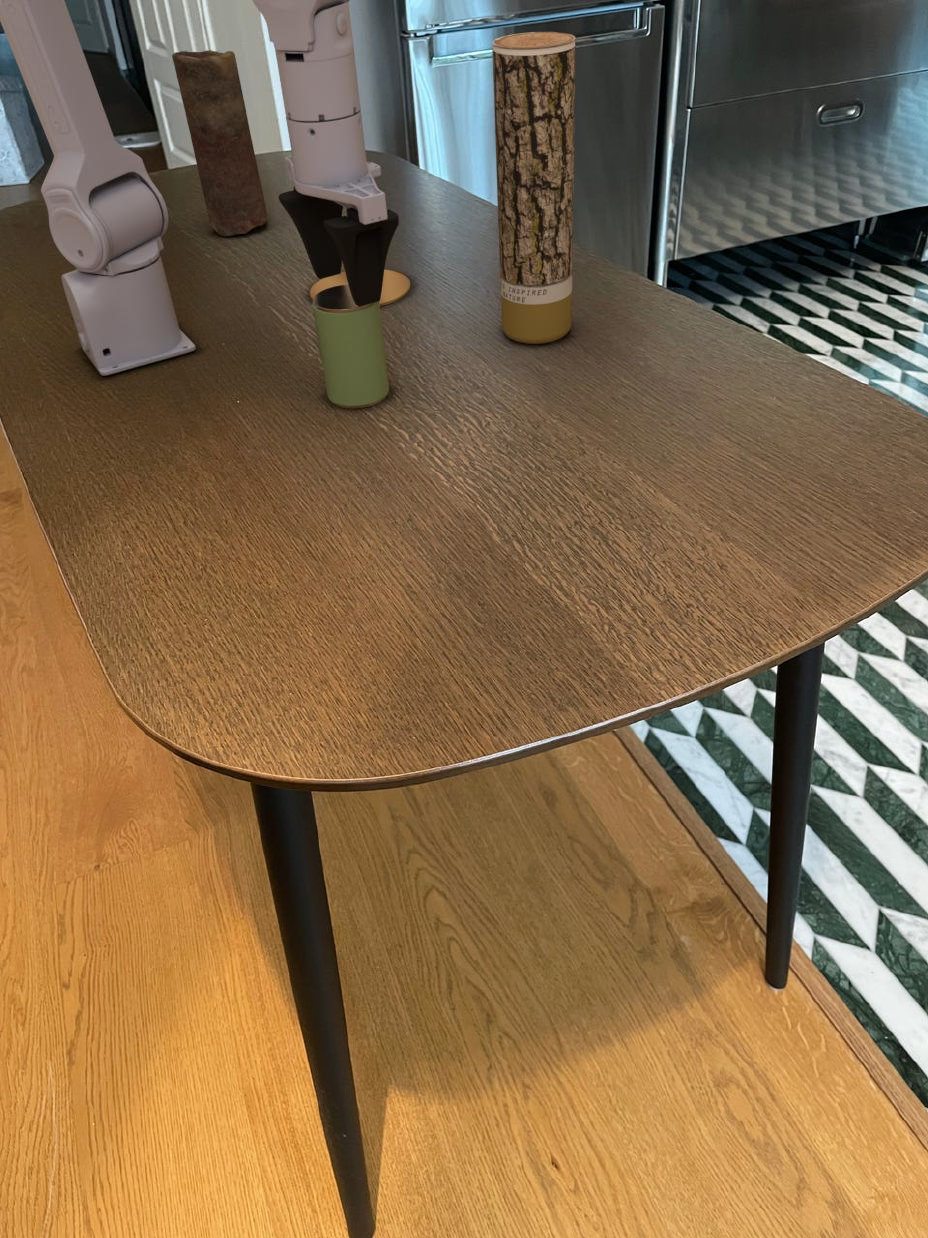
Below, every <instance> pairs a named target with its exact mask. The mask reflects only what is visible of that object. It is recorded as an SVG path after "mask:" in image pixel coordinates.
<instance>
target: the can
mask: <svg viewBox="0 0 928 1238" xmlns="http://www.w3.org/2000/svg"><path fill="white" fill-rule="evenodd" d="M312 311H313V316H314V323H315V328H316V335H317V341H318V349H319V354H320V360H321V365H322V372H323V378H324V384H325V385H324V386H325V390H326V396H327V398H328V400H329V402H330V403H331V404H332V405H334V406H336V407H339V408H341V409H342V408H343V409H352V410H353V409H354V410H355V409H363V408H365V409H366V408H369V407H373V406H375V405H378V404H379V403H381V402H382V401H384V400H385V399H386V398H387V397H388V395H389V392H390V382H389V381H390V380H389V375H388V373H389V372H388V365H387V357H386V348H385V340H384V331H383V322H382V313H381V306H380V305H379V301H378V302H374V303H371V304H367V305H364V306H357V305H356V304H355V302H354V300H353V298H352V295H351V292H350V289H349V285H340V286H335V287H331V288H328V289H325V290H323V291H321V292H319V293H318V294H316V295H315V296H314V298H313V301H312Z"/></svg>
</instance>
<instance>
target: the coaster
mask: <svg viewBox="0 0 928 1238" xmlns="http://www.w3.org/2000/svg"><path fill="white" fill-rule="evenodd" d="M340 285H348V281H347V277H346V273H345V270H344V271H341V274H338V275H334V276H330V277H326V278H323V279H319V280H318V281H317V282H315V283H314V284H313V285H312V286H311V288H310V290H309V296H310V300H311V301H312V302H313V298H314V296H315V295H316V294H318V293H319V292H321V291H323V290H325V289H328V288H331V287H335V286H340ZM410 290H411V281H410V279H409V277H407V276H406V275H404V274H403V273H400V272H398V271H394V270H390V269H384V276H383V285H382V292H381V299H380V301H379V305H380V307H383V306H384V307H385V306H386V305H390V304H392V303H396V302H397V301H399V300H401V299H402V298H404V297H405V296H406V295H407V294H408V293H409V292H410Z"/></svg>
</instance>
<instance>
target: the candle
mask: <svg viewBox="0 0 928 1238" xmlns="http://www.w3.org/2000/svg"><path fill="white" fill-rule="evenodd" d="M171 57H172V62H173V66H174V71H175V74H176V79H177V83H178V88H179V91H180V96H181V101H182V104H183V105H182V106H183V108H184V114H185V117H186V122H187V127H188V130H189V135H190V140H191V144H192V149H193V155H194V158H195V162H196V168H197V172H198V176H199V180H200V185H201V189H202V195H203V199H204V204H205V207H206V211H207V216H208V220H209V224H210V227H211V228H212V230H214V231H215V232H216V233H217V234H218V235H219V236H221V237H233V236H236V235H245V234H247V233H249V232H250V231H251V230H252V229H256V228H259V227H262V226H263V225H264V224H265V223H266V222H267V220H268V212H267V205H266V201H265V197H264V191H263V186H262V181H261V176H260V172H259V168H258V163H257V157H256V153H255V150H254V149H255V147H254V144H253V138H252V134H251V129H250V124H249V118H248V114H247V109H246V104H245V98H244V94H243V93H244V92H243V88H242V84H241V83H242V82H241V79H240V75H239V68H238V63H237V58H236V54H235V52H234V51H233V50H227V51H225V52H220V51H217V50H212V49H211V50H210V49H209V50H204V51H203V50H202V51H178V52H177V51H176V52H174V53H173V54H171Z"/></svg>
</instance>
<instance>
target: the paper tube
mask: <svg viewBox="0 0 928 1238" xmlns="http://www.w3.org/2000/svg"><path fill="white" fill-rule="evenodd" d="M575 40H576V36H575V35H573V34H570V33H567V32H557V31H531V32H520V33H512V34H508V35H503V36H500V37H497V38H495V39H494V40H492V45H493V46H492V52H491V53H492V77H493V78H492V79H493V81H492V82H493V107H494V136H495V137H494V138H495V139H494V140H495V166H496V167H495V169H496V170H495V171H496V193H497V194H496V196H497V200H496V201H497V224H498V226H497V227H498V228H497V229H498V256H499V257H498V258H499V283H500V284H499V285H500V288H499V289H500V307H501V309H500V311H501V328H502V331H503V333H504V334H505V336H506V337H507V338H508V339H511V340H512V341H515V342H517V343H521V344H525V345H526V344H529V345H542V344H548V343H552V342H556V341H557V340H558V341H559V340H560V339H562V338H563V337H565V336H566V335H567V334H568V333H569V331H570V330H571V327H572V308H573V307H572V305H573V304H572V301H573V300H572V299H573V295H572V294H573V253H574V252H573V251H574V250H573V248H574V187H575V186H574V184H575V183H574V182H575V181H574V180H575V172H574V171H575V123H576V121H575V116H576V114H575V113H576V112H575V111H576V54H577V53H576V50H577V49H576V47H577V45H576V41H575Z"/></svg>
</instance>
